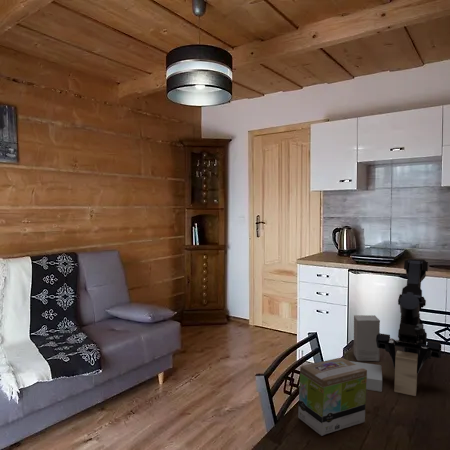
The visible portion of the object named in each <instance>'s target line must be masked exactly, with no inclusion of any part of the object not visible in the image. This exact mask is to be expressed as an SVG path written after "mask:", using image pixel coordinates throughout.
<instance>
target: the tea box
mask: <svg viewBox="0 0 450 450" xmlns="http://www.w3.org/2000/svg"><path fill="white" fill-rule="evenodd" d="M350 361H351V360H348V359H345V358H343V356H342V357H338V358H333V359H327V360H324V361H323V360H322V361H318V362H314V363H309V364H305V365H300V368H299V372H300V373H299V390H298V391H299V392H298V413H297V415H298V416H297V417H298V419H299V420H300V421H302V422H303V423H304V424H305V425H306V426H308V427H310V428H311V429H312V430H313V431H314V432H316V433H317V434H319V436H321V437H322V436H325V435H328V434H330V433H334V432H337V431H340V430H344V429H347V428H350V427H353V426H357V425H360V424H363V423H365V422H366V419H365V417H366V405H367V404H366V403H367V402H366V401H367V398H366V397H367V389H366V383H367V370H366V369H364V368H362V367H360V366H358V365H356V364H354V363H352V362H350Z"/></svg>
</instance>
